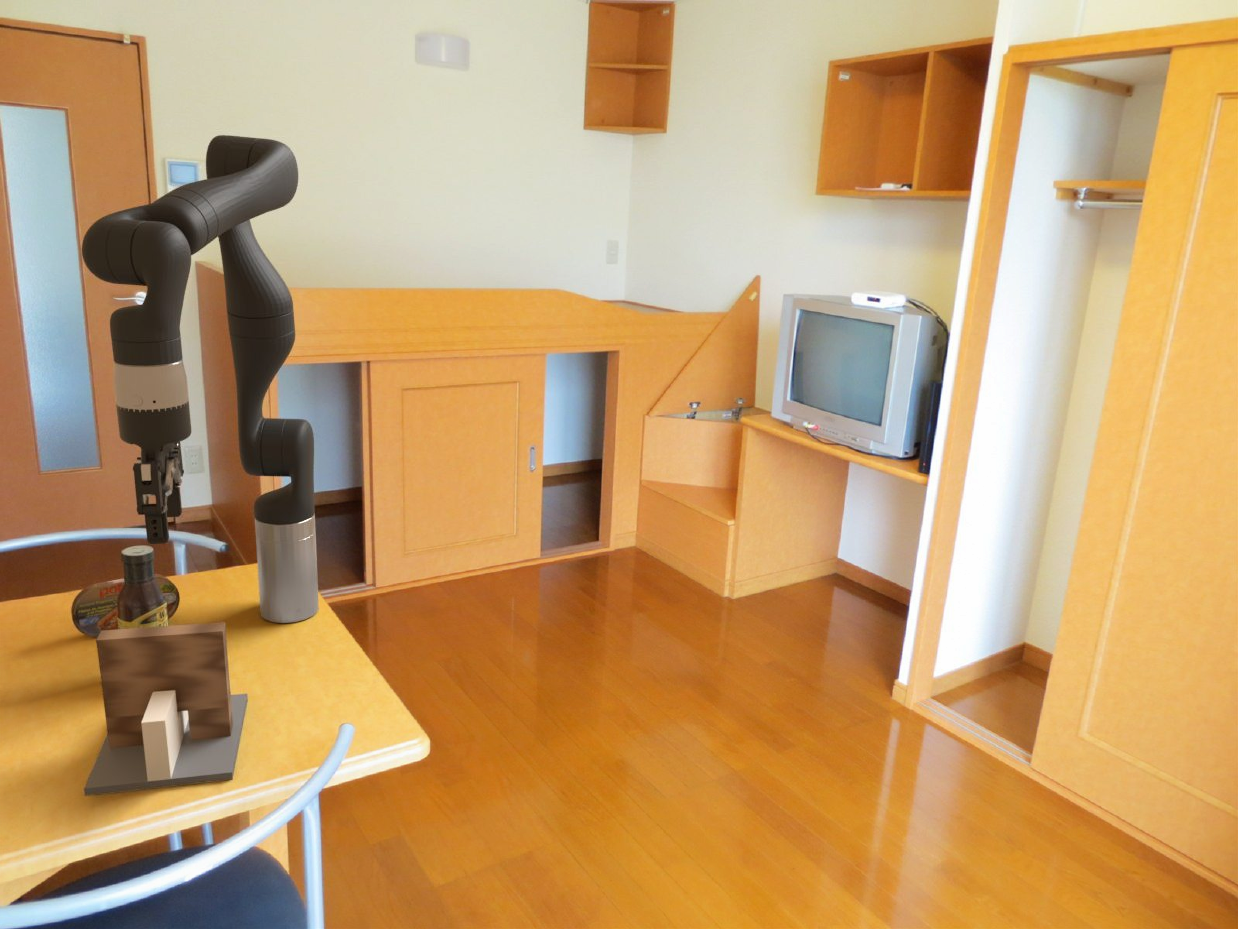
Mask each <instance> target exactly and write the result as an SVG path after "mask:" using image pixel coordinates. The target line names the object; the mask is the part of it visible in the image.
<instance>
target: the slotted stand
mask: <svg viewBox="0 0 1238 929" xmlns="http://www.w3.org/2000/svg"><path fill="white" fill-rule="evenodd" d="M248 695H249V694H248V693H239V694H238V693H236V694H231V706H232V719H233V727H232V732H231V736H226V737H216V738H206V739H196V740H190V729H189V718H188V711H178V712H177V703H176V693H175V690H170V691H158V692H153V693H152V696H151V698H150V701H149V704H148V706H147V709H146V712H145V714H144V717H143V720H142V722H141V725H142V734H143V743H144V745H137V746H128V747H118V748H109V741H108V733H106V736H105V738H104V740H103V742H102V744H101V748H100V750H99V752H98V754H97V757H96V759H95V762H94V764H93V766H92V768H91V771H90V773H89V775H88V778H87V780H86V783H85V785H84V788H83V792H84V796H95V795H104V794H113V793H121V792H122V793H123V792H130V791H131V792H132V791H140V790H141V791H142V790H148V789H159V788H167V787H174V786H177V787H178V786H184V785H193V784H194V785H195V784H201V783H202V784H203V783H212V782H220V781H221V782H222V781H229V780H233V779H234V773H235V770H236V769H235V768H236V764H237V759H238V753H239V747H240V742H241V737H242V731H243V728H244V722H245V716H246V711H247V707H248V701H249V698H248Z"/></svg>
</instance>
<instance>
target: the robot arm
mask: <svg viewBox="0 0 1238 929" xmlns="http://www.w3.org/2000/svg"><path fill="white" fill-rule="evenodd" d="M206 149H207V150H206V154H205V171H206V172H205V174H206V179H200V180H195V181H194V182H189V183H185V184H183V185H180V186H178V187H176V188H174V189H171V191H168V192H167V193H165V194H164V195H162V196H160V197H159V198H157V199H156V200H155V201H153V202H151V203H148V204H144V205H138V206H135V207H134V206H133V207H130V208H126V209H122V210H118V211H115V212H113V213H110V214H109V213H108V214H107V215H105V216H102V217H100V218H99V219H97V220H96V221H95V222H94V223H92V225H91V226H89V228H88V229H87V231H86V232H85V233H84V234H85V235H84V236H83V240H82V244H81V255H82V259H83V262H84V264H85V266H86V268H87V269H88V270H89V272H90V273H91V274H92V275H93V276H95V277H96V278H98V280H101V281H104V282H106V283H110V284H115V285H128V286H142V287H146V294H145V297H144V300H143V302H142V304H136V305H129V306H124V307H119V308H117V309H115V310H114V311H112V313H111V315H110V319H109V331H110V338H111V340H110V341H111V347H112V348H111V349H112V355H113V356H112V357H113V387H114V389H113V390H114V398H115V406H116V414H117V415H116V416H117V425H118V432H119V438H120V440H121V441H122V442H124V443H126V444H129V445H135V446H136V447H139V448H140V449H141V451H140V456H137V457H136V463H135V462H134V463H133V466H132V471H133V477H134V488H135V497H136V500H135V501H136V512H137V515H139V516H141V515H143V516H144V523H145V530H146V532H145V533H146V539H147V540H146V541H147V543H148V544H150V545H161V544H162V545H163V544H167V543H168V542H169V540H170V533H169V532H170V531H169V523H168V521H169V520H168V518H178V517H180V516H181V515H182V513H183V507H182V496H181V485H182V483H183V479H182V477H184V474H185V469H184V465H183V455H182V446H181V442H182V441H183V442H184V440H185V441H186V440H187V439H189V437H190V436H191V434H192V421H191V420H192V419H191V411H190V401H189V400H190V399H189V390H188V389H189V387H188V378H187V374H186V369H185V366H184V359H183V348H182V336H181V320H182V319H181V318H182V313H183V306H184V300H185V295H186V290H187V286H188V281H189V278H190V276H189V275H190V273H191V272H190V271H191V266H192V256H193V255H195V254H197V253H198V252H200V251H201V250H202V249H203V248H205V247H206V246H208V245H209V244H210V243H212V242H213V241H214V240H215V239H217V238H218V243H219V248H220V255H221V263H222V273H223V281H224V292H225V304H226V315H227V316H226V317H227V324H228V325H227V326H228V331H229V333H228V334H229V339H230V347H231V352H232V353H231V354H232V359H233V368H234V376H235V384H236V386H235V387H236V388H235V389H236V404H237V405H236V408H237V432H238V436H237V437H238V451H239V458H240V462H241V466H242V468H243V470H244V472H245V473H246V474H247V475H250V476H256V477H282V478H283V477H286V478H287V477H290V483H288V484H286V485H284V486H282V487H280V488H277V489H273V490H270V491H267V492H265V493H263V494H260V495H259V496H258V497H256V499H255V500H254V503H253V516H254V528H255V529H254V530H255V542H256V543H255V545H256V560H257V575H258V576H257V577H258V578H257V579H258V595H259V611H260V616H261V617H262V619H264V620H266V621H269V622H271V623H280V624H289V623H290V624H291V623H296V622H300V621H305V620H307V619H310V618H311V617H313V616H314V615H316V614H317V613H318V611H319V609H320V607H319V585H318V584H319V579H318V558H317V535H316V514H315V513H316V512H315V509H316V508H315V481H314V480H315V478H314V477H315V474H314V472H315V471H314V470H315V469H314V468H315V466H314V465H315V436H314V431H313V427H312V425H311V423H310V422H309V421H308V420H306V419H303V418H271V417H264V416H263V403H264V399H265V397H266V394H267V392H268V390H269V388H270V386H271V384H272V382H273V380H274V379H275V377H276V376H277V374H278V372H279V371H280V369H281V368H282V367H283V365H284V363H285V362H286V360H287V359H288V358H289V355H290V354H291V352H292V349H293V347H294V344H295V341H296V327H295V326H296V325H295V314H294V310H295V309H294V301H293V297H292V294H291V292H290V289H289V288H288V286H287V283H286V282H285V281H284V279H283V277H282V276H281V274H280V272H279V271H278V270H277V269H276V267H275V266H274V265H273V263H272V262H271V261H270V259H269V258H268V256H267V255H266V254H265V252H264V250H263V249H262V248H261V246H260V244H259V242H258V239H256V236H255V233H254V230H253V227H252V224H251V220H252V219H255V218H257V217H259V216H261V215H264V214H266V213H269V212H272V211H276V210H278V209H281V208H284V207H285V206H287V205H288V204H290V203H291V201H292V200H293V199H294V197H295V194H296V192H297V189H298V186H299V168H298V162H297V159H296V156H295V154H294V152H293V151H292V149H291V148H290V147H289V146H288V145H287V144H286V143H283V142H282V141H278V140H275V139H270V138H260V137H250V136H239V135H228V134H227V135H226V134H225V135H224V134H221V135H219V134H218V135H216V136H214V137H212V139H211V140H210V142H209V144H208V146H207V148H206ZM151 496H155V503H150V502H149V501H150V500H149V499H150V497H151Z"/></svg>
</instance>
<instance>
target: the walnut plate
mask: <svg viewBox="0 0 1238 929" xmlns="http://www.w3.org/2000/svg"><path fill="white" fill-rule="evenodd" d="M226 628H227V627H226V622H225V621H221V622H210V623H209V622H206V623H192V624H190V623H189V624H178V625H177V624H176V625H175V624H174V625H168V626H161V627H146V628H132V629H117V630H103V631H101V632H100V634H99V636H98V638H96V640H95V641H96V649H97V658H98V659H97V660H98V667H99V676H100V683H101V690H102V700H103V706H104V707H103V708H104V716H105V722H106V731H107V733H108V741H109V748H118V747H128V746H137V745H144V743H143V734H142V725H141V722H142V720H143V717H144V714H145V712H146V709H147V706H148V704H149V701H150V698H151V696H152V693H153V692H158V691H170V690H175V693H176V703H177V712H178V711H188V718H189V729H190V740H196V739H206V738H216V737H226V736H231V732H232V727H233V719H232V706H231V695H232V694H231V693H232V692H231V684H230V683H231V682H230V680H231V679H230V670H229V668H230V667H229V657H228V656H229V655H228V645H227V644H228V642H227V641H228V640H227V629H226ZM107 733H106V734H107Z"/></svg>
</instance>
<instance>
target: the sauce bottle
mask: <svg viewBox="0 0 1238 929" xmlns="http://www.w3.org/2000/svg"><path fill="white" fill-rule="evenodd" d="M120 557H121V560H120V561H121V562H122V564H123V576H124V577H123V578H124V581H125V583H124V585H123V587H122V588H121V591H120V592H119V594H118V597H117V608H118V615H117V619H118V629H132V628H146V627H161V626H169V620H168V616H167V602H166V600H165V598H164V596H163V594H162V592H161V590H160V587H159V585H158V583H157V581H156V578H155V574H156V573H155V564H154V560H155V550H154V548H153V547H152V546H150V545H133V546H129V547H126V548H124V549H122V550H121V552H120Z"/></svg>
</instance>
